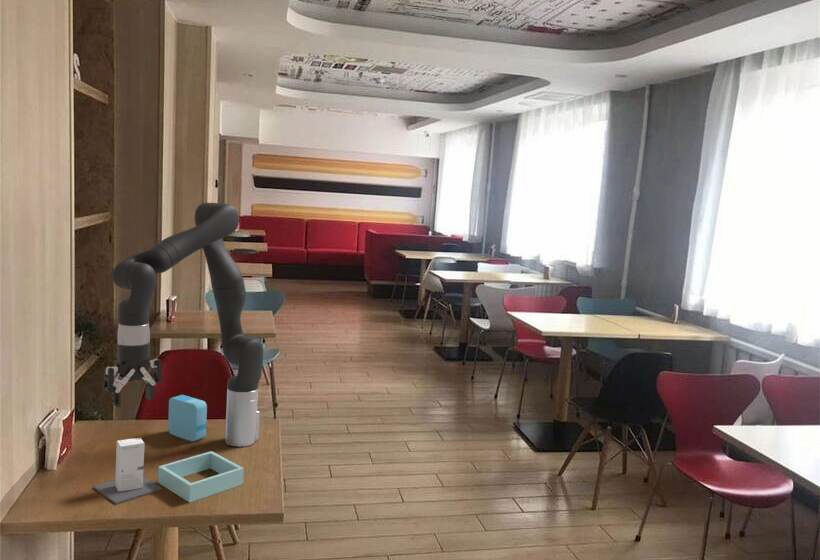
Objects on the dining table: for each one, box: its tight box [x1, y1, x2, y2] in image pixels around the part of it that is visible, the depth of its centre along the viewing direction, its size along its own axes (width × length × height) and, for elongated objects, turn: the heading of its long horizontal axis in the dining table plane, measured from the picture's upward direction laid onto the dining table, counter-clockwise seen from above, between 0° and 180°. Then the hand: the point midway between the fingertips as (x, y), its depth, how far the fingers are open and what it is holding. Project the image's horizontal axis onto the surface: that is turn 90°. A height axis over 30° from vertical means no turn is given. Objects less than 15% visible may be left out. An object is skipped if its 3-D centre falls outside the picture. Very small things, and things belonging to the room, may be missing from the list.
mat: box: [92, 475, 163, 505], centre depth 169 cm, size 12×12×1 cm
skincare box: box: [114, 437, 145, 492], centre depth 169 cm, size 6×4×12 cm
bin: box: [157, 450, 245, 503], centre depth 175 cm, size 16×15×4 cm
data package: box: [167, 394, 208, 443], centre depth 206 cm, size 12×4×12 cm, turn 61°
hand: (133, 402), depth 168 cm, fingers open, 8 cm apart
